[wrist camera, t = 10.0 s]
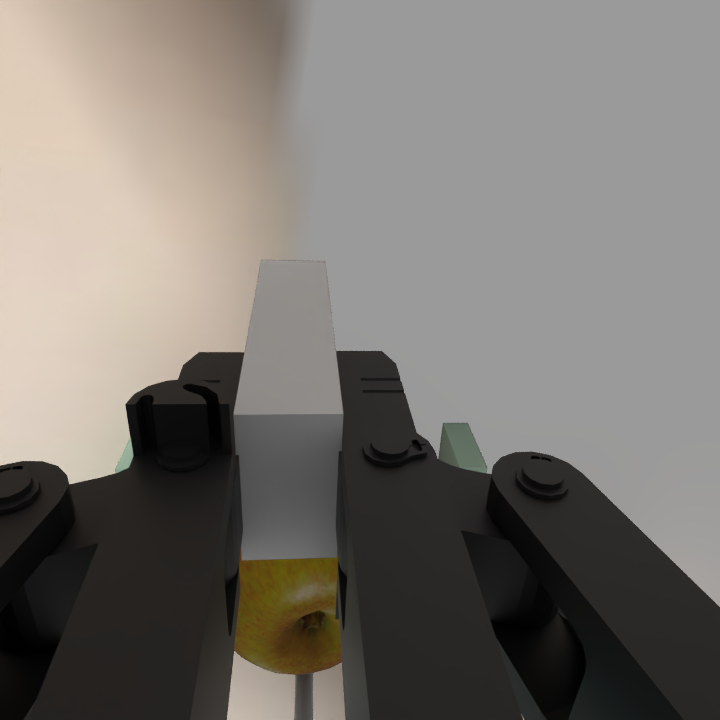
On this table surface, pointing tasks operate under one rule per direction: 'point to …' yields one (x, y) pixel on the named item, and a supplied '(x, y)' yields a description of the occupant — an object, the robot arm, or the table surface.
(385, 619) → the robot arm
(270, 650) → the fruit
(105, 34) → the table surface
